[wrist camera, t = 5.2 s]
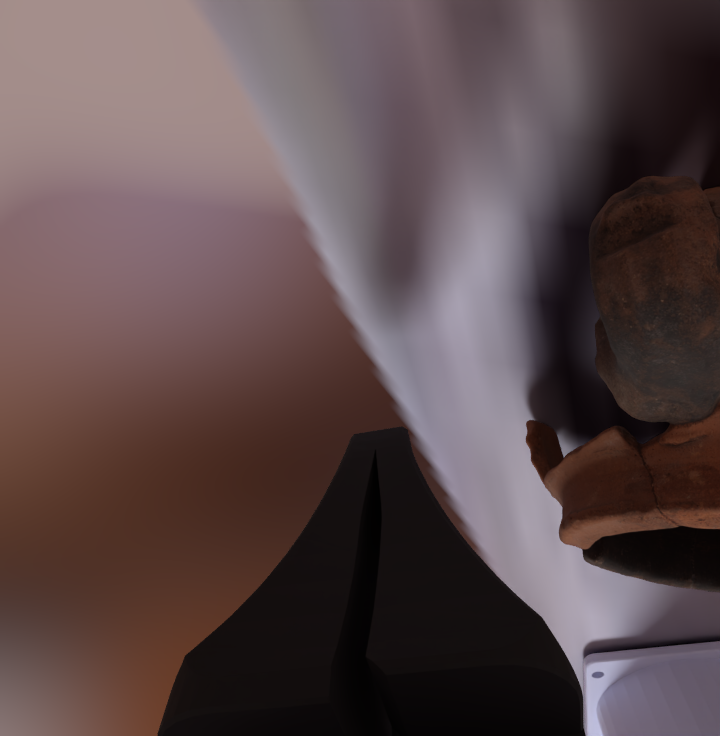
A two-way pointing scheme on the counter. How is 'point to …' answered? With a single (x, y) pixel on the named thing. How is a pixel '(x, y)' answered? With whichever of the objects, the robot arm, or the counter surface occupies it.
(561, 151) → the counter surface
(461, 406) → the counter surface
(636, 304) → the pottery mug
